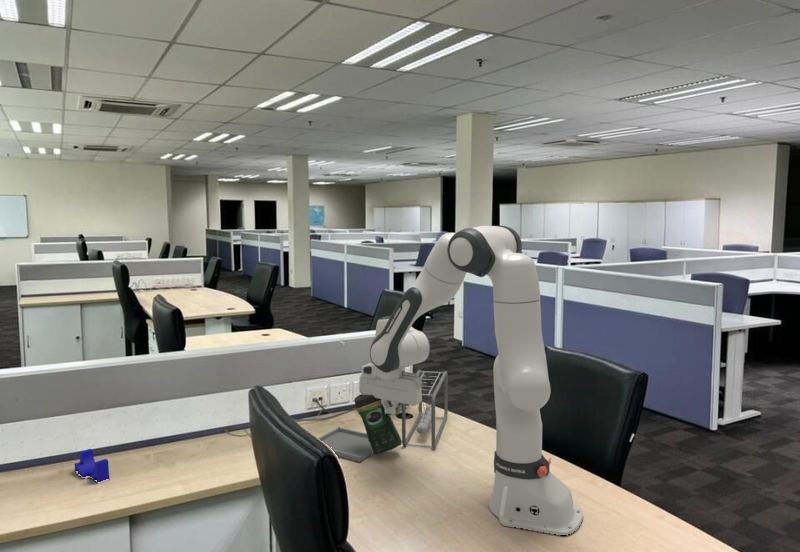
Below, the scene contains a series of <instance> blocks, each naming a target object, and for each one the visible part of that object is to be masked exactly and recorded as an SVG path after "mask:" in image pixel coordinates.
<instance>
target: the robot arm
mask: <svg viewBox="0 0 800 552" xmlns="http://www.w3.org/2000/svg"><path fill="white" fill-rule="evenodd" d="M522 247H523V246H522V240H521V236H520V235H519V233H518V232H517V231H516V230H515V229H513V228H511V227H509V226H506V225H478V226H474V227H466V228H463V229H461V230H459V231H457V232H446V233H444V234H442V235H441V236H440V237H439V238H438V239H437V241H436V243H435V244H434V246H433V247H432V249H431V251H430V252H429V254H428V255H427V258H426V261H425V262H424V265H423V266H422V270H421V271H420V273H419V274H418V276H417V277H416V279H415V281H414V282H413V283H412V284H411V285H410V287H409V288H408V289H407V290H406V291H405V292H404V293H403V295H402V296H401V298H400V299H399V301H398V302H397V304H396V306H395V308H394V310H393V311H392V313H391V315H389V316H383V317H381V318H379V319H377V322H376V327H375V334H374V337H375V338H374V339H373V341H372V342H371V345H370V349H369V356H370V358H369V359H370V360H371V362H370V363H369V362H368V363H366V364H364V365H362V366H361V367H360V373H361V374H360V376H359V383H358V389H359V390H358V392H359V393H360V395H373V396H374V397H375V398H379V399H381V403H382V405H383V407H384V408H385V414H389V415H390V416H395V415H396V409H397V407H398V406H399V404H402V403H403V404H405V405H409V406H418V405H419V403H420V402H421V401H422V399H423V395H422V394H423V392H422V393H421V378H420V377H419V376H418V375H417V374H416V373H415V372H410V371H406V368H407V367H410V366H413V365H417V364H421V363H423V362H425V361H427V360H428V358H429V356H430V354H431V342H430V340H429V337H428V335H426V334H425V333H424V331H421V330H418V329H415V328H414V327H413V326H412V325H413V324H414V322H415V321H416V320H417V319H418V318H420V316H422V315H424V314H426V313H427V312H429V311H432V310H434V309H437V308H438V307H441V306H444V305H445V304H448V303H450V302H451V300H452V299H454V297H455V296H456V295H457V294H458V291H460V289H461V286H462V284H463V281H464V279H465V277H466V274H467V273H468V274H470V275H471V274H472V275H474V276H476V277H479V278H484V277H485V276H488V277H489V279H490V281H491V284H492V293H493V298H492V299H493V316H494V317H493V319H494V334H495V340H496V346H497V353H498V355H497V356H496V357H495V360H494V362H493V368H492V369H493V370H492V371H493V393H494V396H493V397H494V407H495V419H496V422H495V425H496V428H495V429H496V430H495V431H496V432H495V433H496V435H495V436H496V439H495V441H496V444H495V445H496V446H495V450H494V453H493V454H494V456H493V472H494V479H493V480H494V481H493V487H492V492H491V497H490V500H489V503H488V508H489V511H490V512H491V513H492V514H493V515H494V516H496V517H497V519H498V521H499V523H500V524H501V525H502V526H505V527H510V528H514V527H516V528H515V529H520V528H523V529H522V530H526V529H528V530H527V531H532V530H533V532H537V531H538V532H537V533H543V532H544V534H549V533H550V534H549V535H554V534H556V535H555V536H560V535H567V536H569V535H568V534H570V535H572V534H574V533H575V532H577V530H578V529H579V528H580V527H579V526H581V525H582V523H581V522H583V520H584V519H583V518H584V516H583V510H582V509H581V507H580V506H578V505H576V504H574V499H573V495H572V492H571V490H570V488H569V487H568V486H567V485H566V484H565V483H563V482H562V481H561V480H560V479H559V478H558V477H557V476H556V475H555V474H554V473H552V471H550V464H551V461H552V458H551V457H549V458H548V460H547V458H545V456H544V454H543V451H542V450H543V422H542V416H541V410H540V409H541V408H543V407H544V406H545V405H546V404H547V403H548V401H549V400H550V396H551V393H552V392H551V391H552V389H551V383H550V378H549V370H548V362H547V357H546V356H547V355H546V349H545V343H544V337H543V331H542V330H543V329H542V309H541V308H542V307H541V290H540V282H539V276H538V271H537V267H536V263H535V260H534V259H533V258H532V257H531V256H529V255H527V254H524V253H522ZM389 401H390V402H391V405H392V406H390V405H389ZM422 402H423V401H422ZM417 404H418V405H417ZM574 531H575V532H574ZM573 532H574V533H573ZM571 533H572V534H571Z"/></svg>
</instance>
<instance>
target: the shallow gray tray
mask: <svg viewBox="0 0 800 552" xmlns="http://www.w3.org/2000/svg"><path fill="white" fill-rule="evenodd" d="M318 439H320V440H321V441H323V442H324V443H325V444H327V445H328V446H329V447H330V448H331V447H332V448H331V449H332V450H333V451H334V452H335V454H336V455H337V456H338V457H337V458H339V459H343V460H346V461H351V462H354V463H359V464H361V463H363V462H364V461H366V460H367V459H369V458H370V457H372V456H374V455H373V454H372V451H371V448H370V444H369V441H368V437H367V433H366V432H363V431H359V430H354V429H349V428H346V427H341V426H338V427H336V428H334V429H332V430H330V431H329V432H327V433H324V434H323V435H321V436H319V437H318Z"/></svg>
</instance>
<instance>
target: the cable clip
mask: <svg viewBox="0 0 800 552" xmlns="http://www.w3.org/2000/svg"><path fill="white" fill-rule="evenodd" d="M75 471H78V474H80V475H81V476H82V477H86V476H90V477H92V478H93V479H94V480H97V482H101V481H103V480H106V479H109V480H110V470H109V459H107V458H103V459H101V460H98V461H95V457H94V451H93V449H92V448H88V449H85V450H81V451H79V461H78V462H76V463H74V472H75Z"/></svg>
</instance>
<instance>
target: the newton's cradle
mask: <svg viewBox="0 0 800 552" xmlns="http://www.w3.org/2000/svg"><path fill="white" fill-rule="evenodd" d="M425 373H432V374H438V375H435V376H433V375H431V376H430V377H432V378H433V377H435V378H436V379H434V382H432V386H431V385H430V386H429V385H427V386H424V385H426V382H425V381H423V380H425V378H424V377H425ZM415 374H417V375H418V376H419V377H420V378H421V393H422V396H423V397H424V399H423V398H422V401H421V402H420V403H419V404H417V405H416V406H417V408H418V415H417V417H416V419H415V421H414V423H413V425H412V427H411V428H410V430H409V432H408V434H406V432H407V431H406V430H407V429H406V427H407V426H406V422H407V421H406V420H407V419H406V417H407V415H406V404H403V403H401V440H402V444H401V445H402V446H403V447H407V446H412V447H422V448H423V447H425V448H432V449H433V450H435V449H436V448H437V446H438V444H439V441H440V438H441V436H442V433H443V429H444V428H445V425H446V421H447V419H448V412H449V411H448V409H449V407H448V405H449V404H448V403H449V401H448V398H449V397H448V395H449V394H448V392H449V390H448V387H449V386H448V382H449V380H448V377H449V376H448V375H449V374H448V371H446V370H445V371H428V370H427V371H426V370H421V369H418V370H417V371H416V373H415ZM440 374H442V375H441V377H440ZM439 377H440V379H439ZM438 379H439V381H438ZM426 380H428V381H429V380H432V381H433V379H429V378H428V379H427V378H426ZM437 381H438V383H437ZM443 383H444V384H443ZM423 384H424V385H423ZM442 384H443V385H444V387H443V388H444V389H443V390H444V394H443V396H444V415H443V417H438V416H436V411H437V410H436V397H437V395H438V393H439V390H440V388H441V386H442ZM427 387H429V388H430V389H429V390H428V392H427V391H425V390H427ZM423 388H425V389H423ZM426 398H427V401H426ZM423 402H424V403H425V404H427V405H425V404H424V403H423ZM423 407H425V408H423ZM423 411H424V412H423ZM436 419H440V420H441V419H442V422H441V424H440V426H439V429H438V431H437V434H436ZM430 426H431V445H425V444H424V445H423V444H415V443H414V444H412V443H411V444H410V443H409V441H410V440H411V438H412V436H413V433H414V432H415V429H416V431H417V433H418V434H420V435H423V436H424V435H425V434H427V433H428V431H429V428H430Z"/></svg>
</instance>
